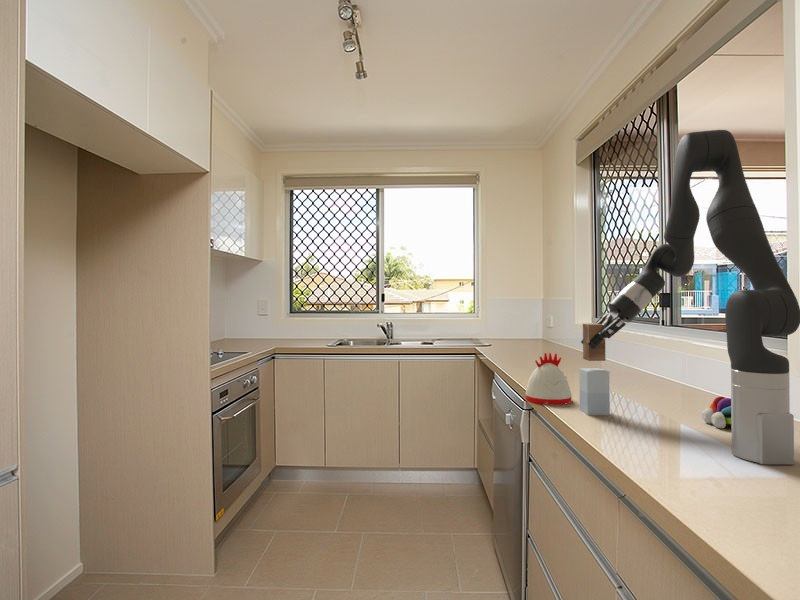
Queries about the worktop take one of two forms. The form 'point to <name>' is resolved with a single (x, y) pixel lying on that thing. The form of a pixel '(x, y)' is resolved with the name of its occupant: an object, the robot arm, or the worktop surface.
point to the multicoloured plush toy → (718, 412)
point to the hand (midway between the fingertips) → (587, 345)
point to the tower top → (594, 380)
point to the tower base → (595, 403)
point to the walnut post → (589, 352)
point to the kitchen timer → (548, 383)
